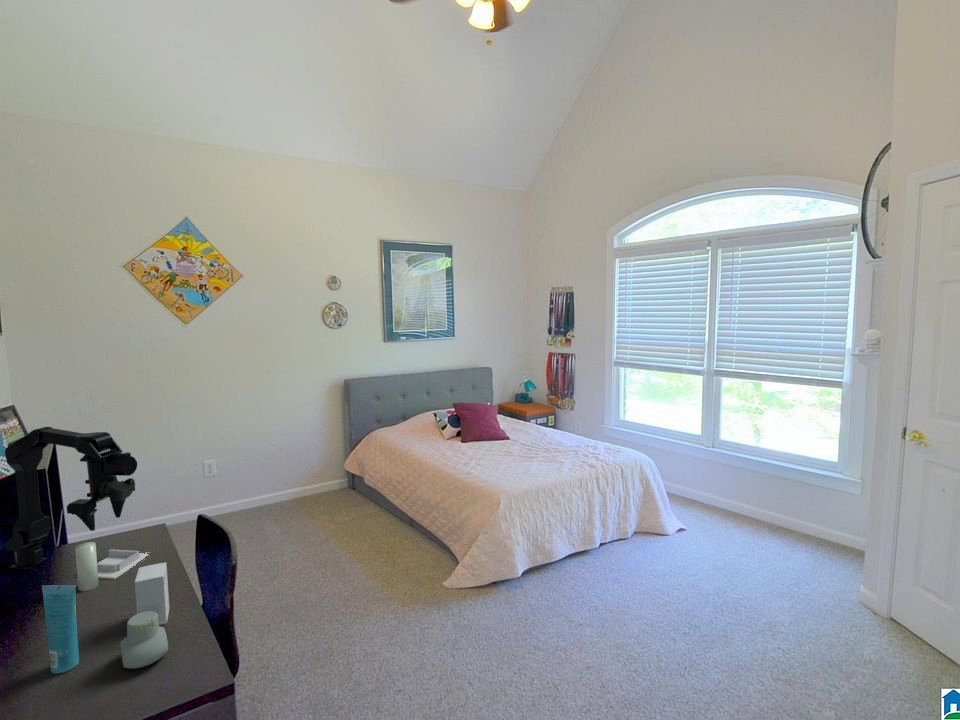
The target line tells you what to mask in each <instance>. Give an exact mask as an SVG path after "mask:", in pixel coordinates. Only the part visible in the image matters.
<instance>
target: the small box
mask: <svg viewBox="0 0 960 720" xmlns="http://www.w3.org/2000/svg"><path fill="white" fill-rule="evenodd" d="M133 582H134V592H135V606H136V608H135V609H136V615H137V614H139V613H142V612H146V611H153V612H156V613H157V614H158V625H159V626H161V625H166V624H167V623H168V620H169V612H170V600H169V599H170V597H169V583H168V582H169V581H168V568H167V562H159V563H156V564H150V565H145V566H140V567H138V569H137V571H136V577H135V579H134V581H133Z"/></svg>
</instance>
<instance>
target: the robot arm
mask: <svg viewBox="0 0 960 720" xmlns="http://www.w3.org/2000/svg"><path fill="white" fill-rule="evenodd" d="M49 445H55V446H61V447H67V448H68V447H69V448H71V449H72V448H73V449H75V450H76V452H78V453H79V454H83V456H82V457H80V459H79V461H80V462H85V463H86V467H87V468H86V469H87V478H88V479H85V480H84V484H85V485H88V487H89V492H87V493H86V497H87V498H86V499H85V498H79V499H77V500H75V501H72V502H70V503H68V504H67V506H66V513H67V514H71V515H75V516H76V517H77V518H79V519H80V520H81V521H82V523H84V525H85V526H86V527H87V528H88V529H89V530H90V531H93V532H94V531H95V530H96V522H95V514H96V512H97V511H98V509H97V503H100V502H102V501H104V500H107V499H109V501H110V504H111V507H112V510H113V514H114V516H115V518H118V519H119V518H121V515H122V511H123V509H124V505H125V502H126V500H127V498H129V497H130V496H131V495H132V494H133V492H134V491H136V482H135V479H134V478H132V477H130V476H132V475H134V473H135V472H136V471H137V469H138V461H137V460H136V458H135V457H134V456H132V453H131V452H129V451H127V452H123V450H122V448H121V447H120V445H119V444H118V443H117V442H116V441H115V440H114V438H113V437H112V436H111V433H109V432H107V431H102V432H101V431H98V432H97V431H95V432H87V433H82V432H77V431H72V430H71V431H70V430H65V429H60V428H59V429H58V428H53V427H51V426H43V427H40V428H35V429H32V430H31V431H29V433H28V434H25V436H23V437H22V438H19V439H17V440H16V441H15V442H13V443H11V444H8V446H7V447H6V448H5V450H4V456H5V459H6V463H7V465H9V467H10V468H11V469H12V470H13V471H14V473H15V474H14V475H15V483H16V493H17V494H16V495H17V507H18V518H17V519H16V521H15V523H14V524H13V528H12V536H11V537H10V538H9V539H8V540H7V542H5V544H4V548H5V550H6V551H7V552H13V559H14V560H13V561H14V564H12V565H10V566H9V569H15V570H16V569H17V570H28V569H31V568H33V567H35V566H37V565H39V564H41V563H42V562H45V561H47V560H48V557H44V553H43V547H42V542H43V541H46V540H47V539H48V537H49V536H48V535H49V533H50V531H51V528H52V527H53V526H52V525H51V517H50V515H45V514H44V513H43V512H42V511H41V509H42V508H41V500H40V490H39V489H40V488H39V479H38V478H39V477H38V467H39V465H40V463H41V461H42V460H43V457H44V456H43V455H44V449H45V448H47V446H49ZM117 476H127V477H129V478H128V479H125V480H121V481H119V480H118V477H117ZM88 498H89V499H88Z"/></svg>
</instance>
